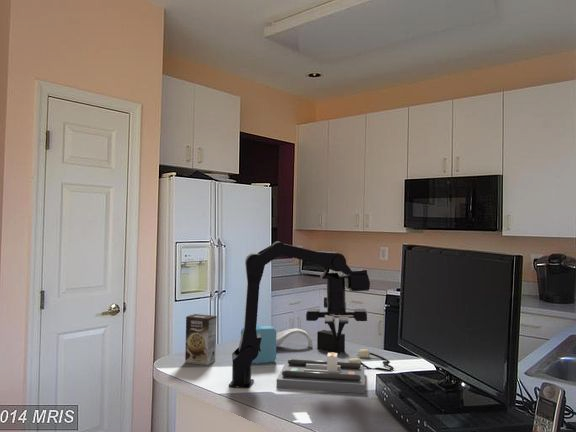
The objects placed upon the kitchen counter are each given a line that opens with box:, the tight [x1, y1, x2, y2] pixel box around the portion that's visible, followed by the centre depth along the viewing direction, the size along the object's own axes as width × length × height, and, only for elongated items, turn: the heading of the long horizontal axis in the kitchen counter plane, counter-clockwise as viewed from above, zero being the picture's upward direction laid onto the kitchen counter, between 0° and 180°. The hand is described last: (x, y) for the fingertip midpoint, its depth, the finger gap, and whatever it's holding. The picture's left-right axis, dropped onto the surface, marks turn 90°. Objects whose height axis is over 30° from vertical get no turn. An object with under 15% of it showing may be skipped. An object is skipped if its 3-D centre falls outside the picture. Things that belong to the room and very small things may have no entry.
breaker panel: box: [276, 358, 366, 394], centre depth 146 cm, size 18×26×4 cm
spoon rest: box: [276, 327, 313, 349], centre depth 186 cm, size 24×12×7 cm, turn 98°
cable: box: [347, 348, 395, 372], centre depth 165 cm, size 16×16×4 cm
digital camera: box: [316, 329, 346, 355], centre depth 181 cm, size 10×5×7 cm, turn 47°
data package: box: [240, 325, 277, 365], centre depth 165 cm, size 12×4×12 cm, turn 106°
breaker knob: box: [326, 352, 339, 371], centre depth 145 cm, size 4×3×6 cm
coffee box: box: [184, 313, 217, 366], centre depth 164 cm, size 9×6×16 cm
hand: (337, 342), depth 146 cm, fingers closed
